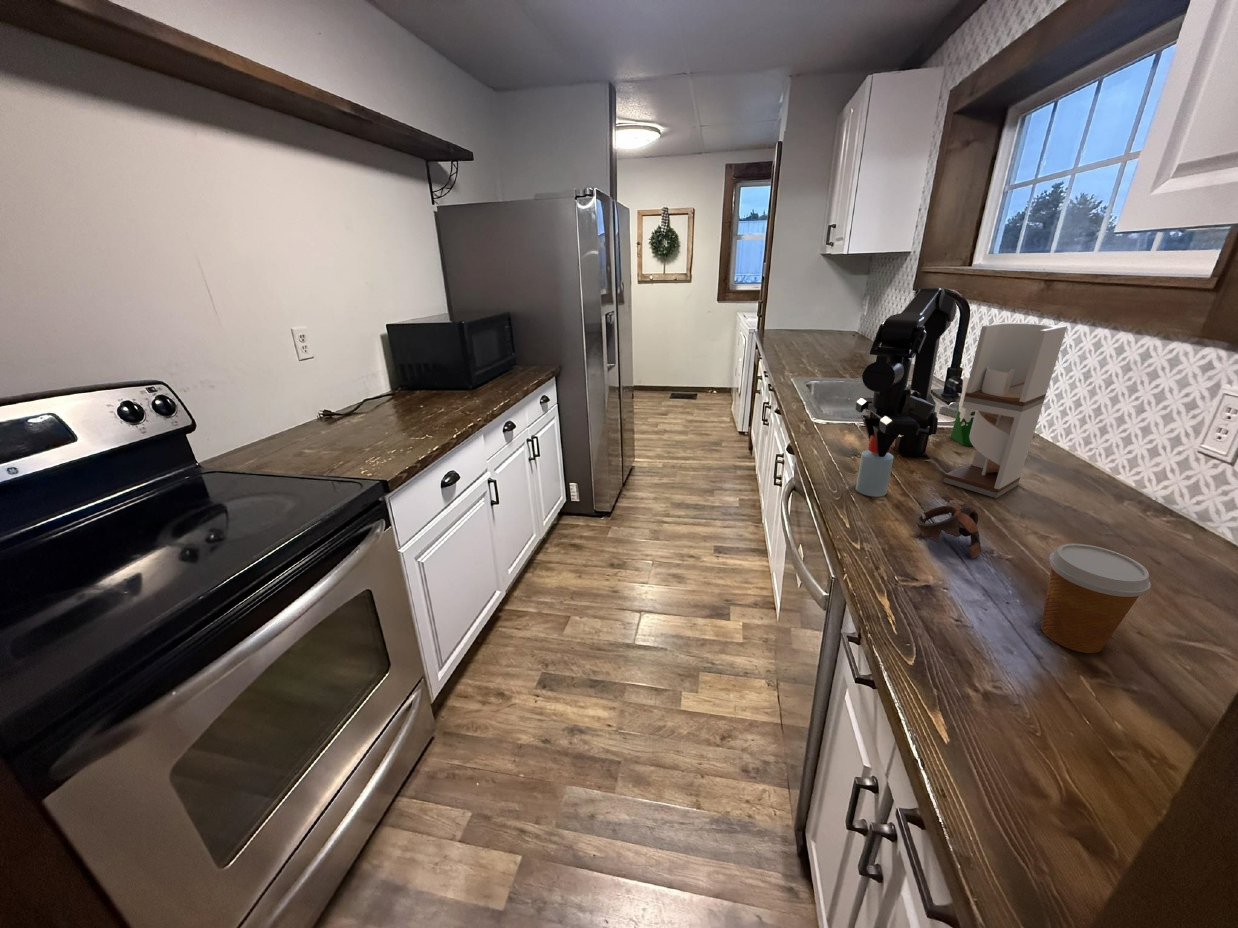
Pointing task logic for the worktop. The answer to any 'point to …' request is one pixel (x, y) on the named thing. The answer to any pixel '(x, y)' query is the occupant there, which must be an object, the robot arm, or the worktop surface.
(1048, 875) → the worktop surface
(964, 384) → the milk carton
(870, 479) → the bottle
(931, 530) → the pottery mug
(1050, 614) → the disposable coffee cup
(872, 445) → the cap
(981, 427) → the white tower frame
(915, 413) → the robot arm
